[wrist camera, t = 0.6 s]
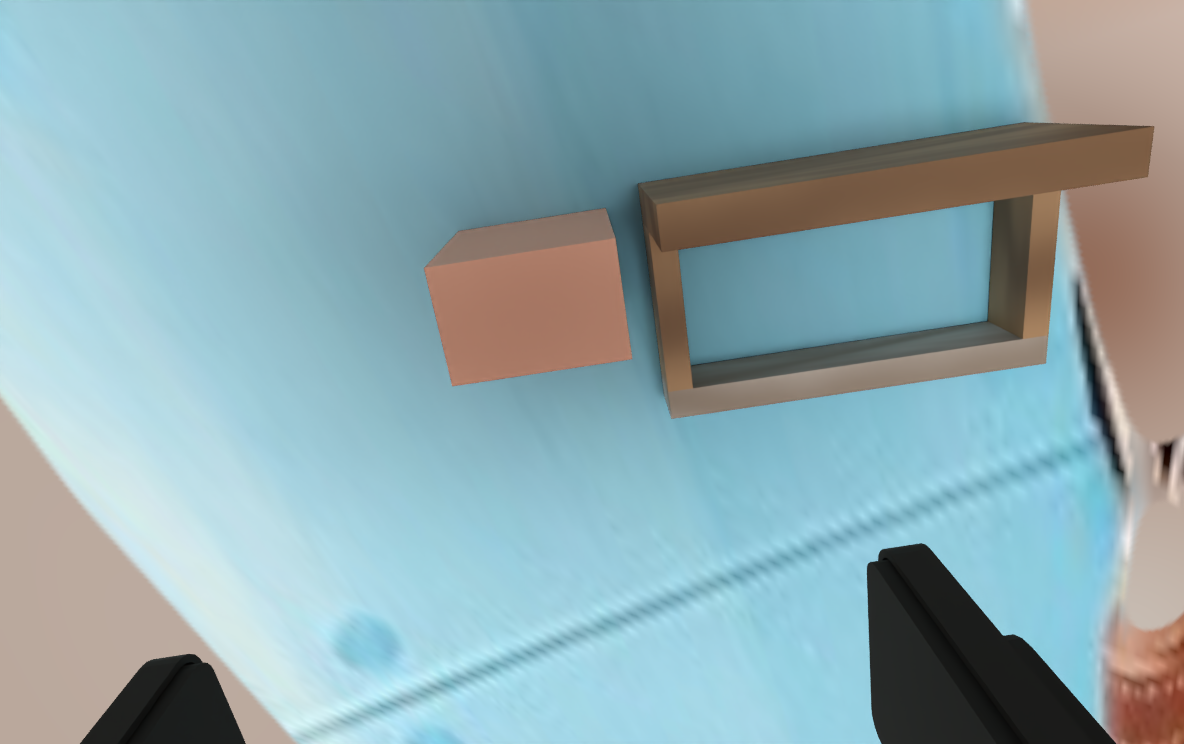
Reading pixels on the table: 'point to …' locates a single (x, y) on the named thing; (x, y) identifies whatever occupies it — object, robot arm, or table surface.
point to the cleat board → (872, 191)
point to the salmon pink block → (530, 297)
